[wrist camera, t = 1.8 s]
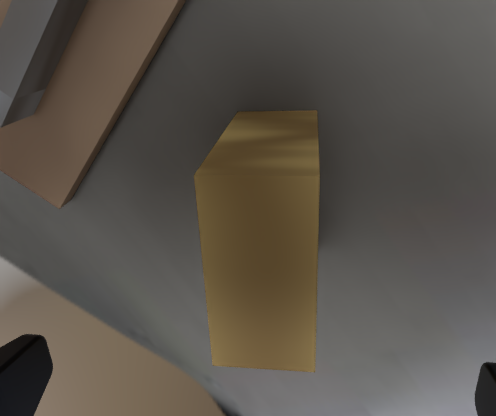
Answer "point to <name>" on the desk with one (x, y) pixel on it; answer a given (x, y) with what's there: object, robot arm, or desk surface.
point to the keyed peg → (261, 240)
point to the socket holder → (70, 82)
